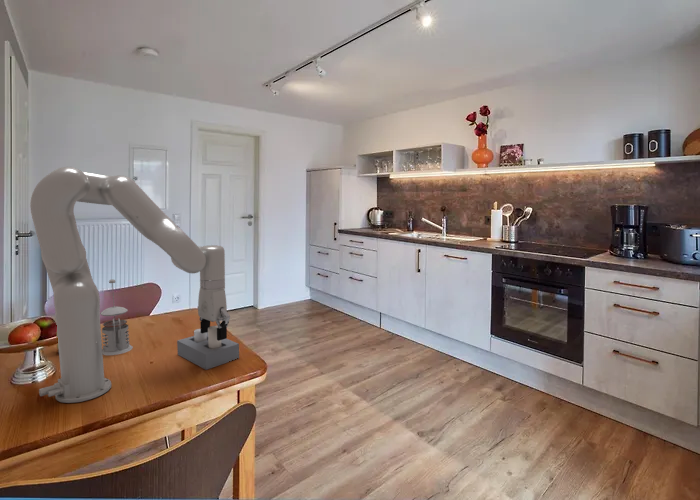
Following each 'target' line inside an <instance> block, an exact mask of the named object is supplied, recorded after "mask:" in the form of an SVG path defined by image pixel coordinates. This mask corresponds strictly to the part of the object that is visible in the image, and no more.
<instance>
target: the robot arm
mask: <svg viewBox="0 0 700 500" xmlns="http://www.w3.org/2000/svg"><path fill="white" fill-rule="evenodd" d="M77 202H79V203H85V204H86V203H87V204H94V205H95V204H96V205H103V206H105V205H106V206H113V208H114V209H115V210H117V212H118V213H119V214H121V215H122V216H123V218H124V219H126V220H127V221H128V222H129V224H131V225H132V226H133V227H134V229H136V230H137V231H138V233H140V235H142V236H143V237H144V238H146V239H147V240H149V241H150V242H152V243H154V244H155V245H157V246H158V247H159V249H161V250H162V251H164V252H165V253H166V254H167V255H168V256H169V257H170V259H171V263H172V265H173V266H175V268H177V269H179V270H182V271H183V272H185V273H187V274H192V275H193V274H197V273H199V287H200V288H199V293H198V300H197V301H198V302H197V304H198V305H197V313H198V316H199V322H200V329H201V333H206V332H208V327H210V326H211V322H212V323H214V322H215V323H216V326H218V328H217V340H218V341H219V340H223V339H228V330H227V329H228V325H229V324H230V319H231V316H230V314H229V312H228V311H227V310H228V308H227V295H226V275H225V274H226V264H225V263H226V256H225V255H226V254H225V248H224V246H221V245H218V244H217V245H215V244H214V245H212V244H211V245H203V246H201V245H200V246H199V245H197V244H196V243H195V242H194V241H193V239H192V238H191V237H189V235H188V234H186V232H185V231H183V229H181V228H180V227H179V226H178V225H177V224H176V223H175V222H174V221H173V220H172V218H170V217H169V216H168V215H167V214H166V213H165V212H164V211H163V210H162V209H161V208H160V207H159V206H158V205H157V204H156V203H155V202H154V201H153V200H152V198H150V197H149V195H148V194H147V193H146V191H144V189H142V187H140V186H139V185H138V184H137V182H135V181H134V179H132V178H130V177H128V176H126V175H107V174H106V175H104V174H97V173H92V172H86V171H82V170H80V169H79V168H76V167H72V166H62V167H58V168H57V169H56V168H55V170H53V171H51V172H50V173H48V174H47V175H45V176H44V177H43V178H41V180H40V181H39V182H38V183H37V184H36V186H35V187H34V189H33V192H32V194H31V197H30V204H29V205H30V206H29V207H30V214H31V218H32V221H33V226H34V228H35V233H36V237H37V241H38V243H39V248H40V252H41V259H42V262H43V264H44V266H45V270H46V273H47V276H48V279H49V282H50V285H51V289H52V292H53V303H54V311H55V312H54V314H55V323H56V324H55V326H56V325H57V332H56V338H57V337H58V347H59V353H58V356H59V357H58V358H59V368H60V378H57V382H55V383H54V384H53V385H49V386H45V387H42V388H39V389H38V393H39V394H38V395H39V397H43V396H47V397H48V398H50V397H55V400H56V401H58V402H60V403H64V404H66V403H67V404H70V403H71V404H72V403H73V404H74V403H80V402H81V403H82V402H85V401H89V400H92V399H95V398H98V397H100V396H102V395H104V394H106V393H107V392H108V391H110V389H111V388H112V381H111V380H110V379H109V378H106V377H105V371H104V370H105V369H104V355H103V354H102V349H103V339H102V328H101V314H100V313H101V312H100V311H101V299H100V293H99V289H98V287H97V285H96V284H95V282H94V280H93V279H94V278H93V276H92V274H91V270H90V267H89V263H88V259H87V252H86V248H85V246H84V244H83V242H82V239H81V237H80V233H79V229H78V226H77V225H78V224H77V221H76V218H75V213H74V208H75V204H76V203H77Z"/></svg>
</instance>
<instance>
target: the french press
mask: <svg viewBox="0 0 700 500" xmlns="http://www.w3.org/2000/svg"><path fill="white" fill-rule="evenodd" d="M108 282H109V284H111V287H112V291H114V284H115V283H116V279H109V281H108ZM114 293H115V292H112V302H113V303H112V305H113V306H111V307H107V308H105V309H104V310H101V312H100V316H103V317H113V318H112V320H109V321H108V320H107V321H105V322H104V323H102V326H103V327H102V328H101V338H102V337H103V338H102V354H103V356H116V355H121V354H122V355H123V354H125V353H128V352H130V351H131V350H133V347H134V346H132V345H131V344H130V337H129V336H130V335H129V332H130V331H129V324H127V322H128V321H127V320H126V319H120V318H119V317H118V319H116V316H120V315H124V314H126V313H127V312H128V311H129V310H128V309H127V308H125V307H122V306H115V297H114V295H115V294H114Z"/></svg>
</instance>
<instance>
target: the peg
mask: <svg viewBox="0 0 700 500" xmlns="http://www.w3.org/2000/svg"><path fill="white" fill-rule="evenodd" d="M217 328H218V326H217V325H212V326H211V325H210V327H208V346H209V349H211V350H214V349H217V348H220V347H222V346H221V340H219V341H218V340H217Z"/></svg>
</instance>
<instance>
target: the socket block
mask: <svg viewBox="0 0 700 500" xmlns="http://www.w3.org/2000/svg"><path fill="white" fill-rule="evenodd" d="M176 344H177V345H176V348H177V356H179V357H181V358H183V359H185V360H187V361H189V362H191V363H193V364H195V365H196V366H198V367H200V368H202V369H203V370H205V371H206V370H210V369H212V368H215V367H218V366H222V365H224V364H227V363H229V361H230V362H232V360H233V361H235V359H236V360H238V359H240V343H238V342H235V341H234V340H231V339H229V338H226V339H223V340H221V346H222V347H220V348H217V349H214V350H211V349H209V346H208V332H206V333H201V328H196V329H195V330H193V336H192V335H191V336H188V337H184V338H181V339H178V340H176ZM237 358H238V359H237Z"/></svg>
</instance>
